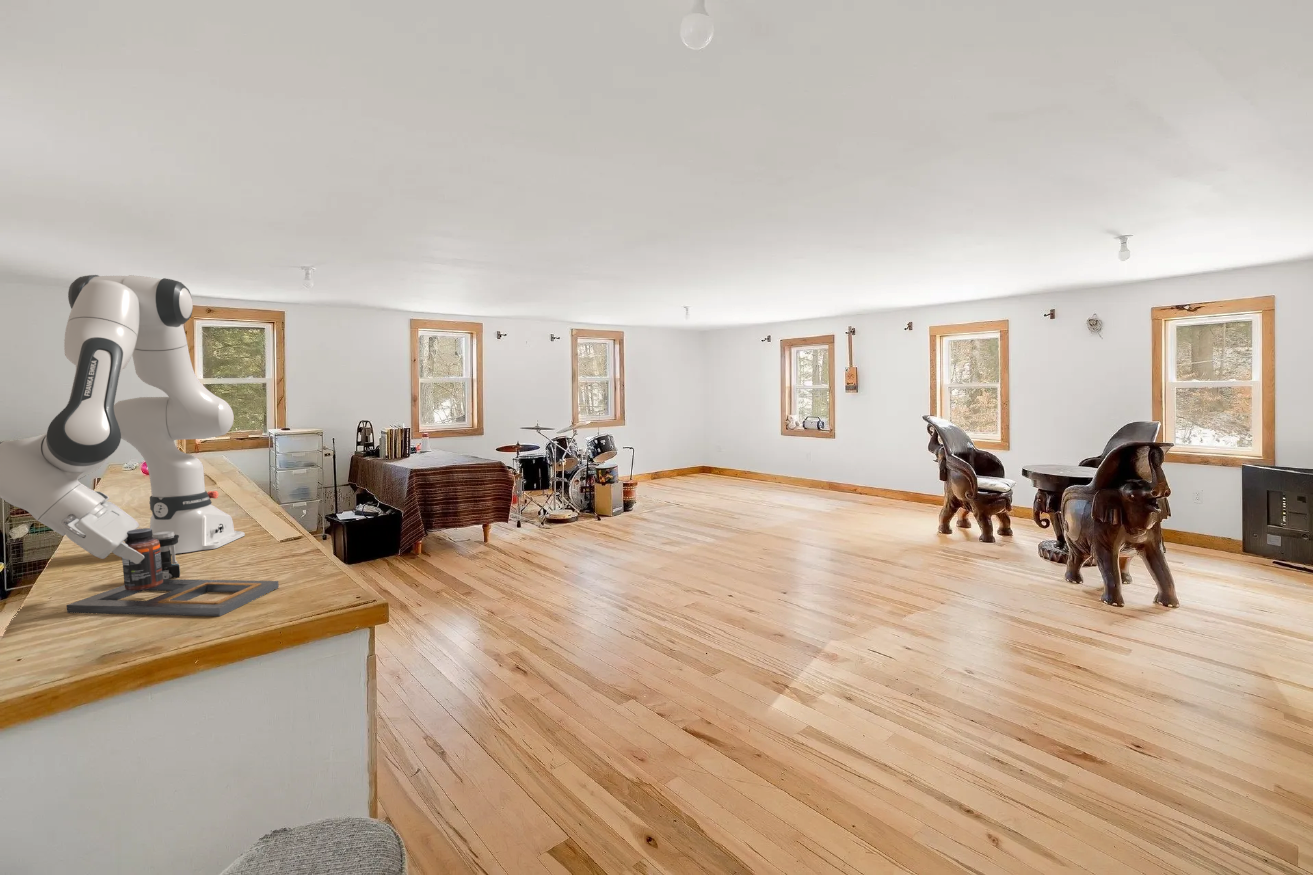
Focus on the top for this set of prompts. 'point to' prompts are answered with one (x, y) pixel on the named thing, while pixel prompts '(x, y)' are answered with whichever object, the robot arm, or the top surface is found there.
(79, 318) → the robot arm
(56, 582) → the top surface
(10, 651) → the top surface
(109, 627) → the top surface
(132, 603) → the grey rectangular frame
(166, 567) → the push button
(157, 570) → the supplement bottle
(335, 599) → the top surface
